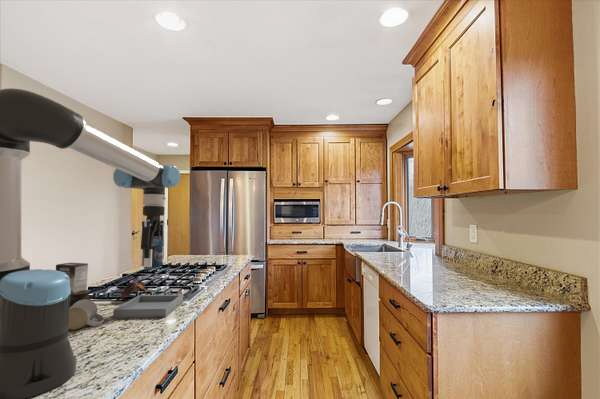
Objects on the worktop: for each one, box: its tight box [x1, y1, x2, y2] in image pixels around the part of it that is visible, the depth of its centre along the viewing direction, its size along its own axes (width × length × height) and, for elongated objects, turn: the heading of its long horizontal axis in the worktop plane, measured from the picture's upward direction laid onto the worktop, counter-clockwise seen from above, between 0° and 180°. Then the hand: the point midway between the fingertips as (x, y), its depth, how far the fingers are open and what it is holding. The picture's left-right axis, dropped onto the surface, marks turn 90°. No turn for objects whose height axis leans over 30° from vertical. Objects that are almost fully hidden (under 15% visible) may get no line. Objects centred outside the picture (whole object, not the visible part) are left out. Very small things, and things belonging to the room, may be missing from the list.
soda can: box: [141, 236, 164, 270], centre depth 113 cm, size 7×7×12 cm
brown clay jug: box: [119, 281, 147, 300], centre depth 126 cm, size 12×10×8 cm
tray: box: [112, 294, 184, 319], centre depth 112 cm, size 18×18×3 cm
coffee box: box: [55, 262, 89, 298], centre depth 119 cm, size 9×6×16 cm
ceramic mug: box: [68, 299, 105, 331], centre depth 96 cm, size 11×8×8 cm
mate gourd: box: [69, 289, 92, 308], centre depth 107 cm, size 7×8×10 cm
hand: (152, 265), depth 113 cm, fingers closed on soda can, 7 cm apart
